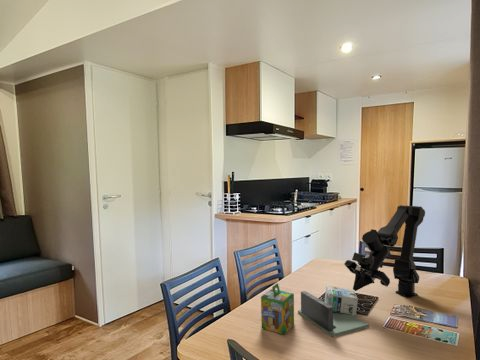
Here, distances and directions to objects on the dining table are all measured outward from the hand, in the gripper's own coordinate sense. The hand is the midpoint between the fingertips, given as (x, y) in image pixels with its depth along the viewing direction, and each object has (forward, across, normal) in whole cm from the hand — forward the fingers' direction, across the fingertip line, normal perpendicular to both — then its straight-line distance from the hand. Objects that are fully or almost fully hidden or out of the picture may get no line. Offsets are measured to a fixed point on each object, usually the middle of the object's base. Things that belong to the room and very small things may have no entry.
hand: (354, 290), depth 123 cm
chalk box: (+29, -4, -15) cm, 33 cm away
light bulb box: (+3, -2, +5) cm, 6 cm away
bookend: (+18, 0, -6) cm, 19 cm away
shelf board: (+14, 0, -1) cm, 14 cm away
